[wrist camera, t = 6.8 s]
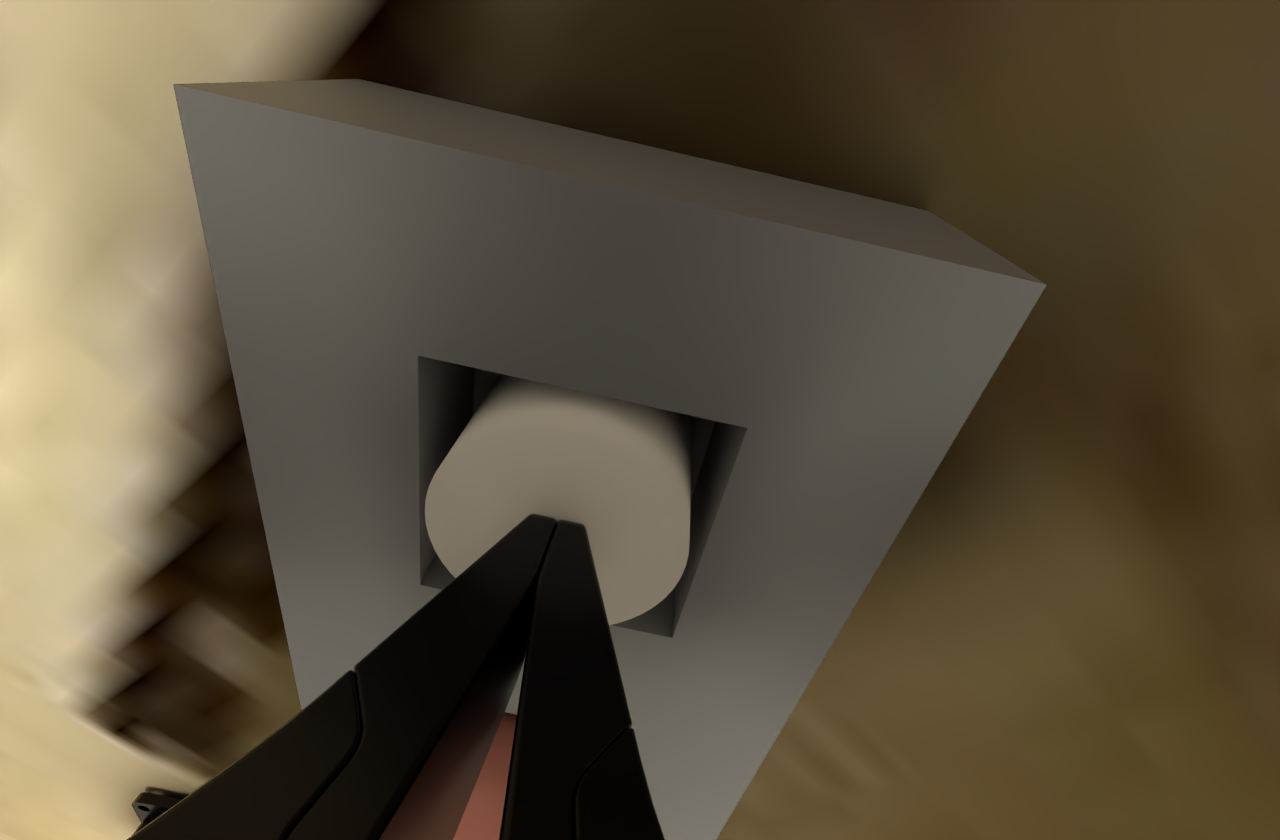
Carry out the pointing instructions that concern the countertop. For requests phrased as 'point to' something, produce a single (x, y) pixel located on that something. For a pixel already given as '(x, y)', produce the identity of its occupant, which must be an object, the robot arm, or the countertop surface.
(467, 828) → the button red middle
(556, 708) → the robot arm
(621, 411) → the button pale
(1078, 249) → the countertop surface
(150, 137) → the countertop surface
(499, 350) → the button panel
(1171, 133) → the countertop surface
